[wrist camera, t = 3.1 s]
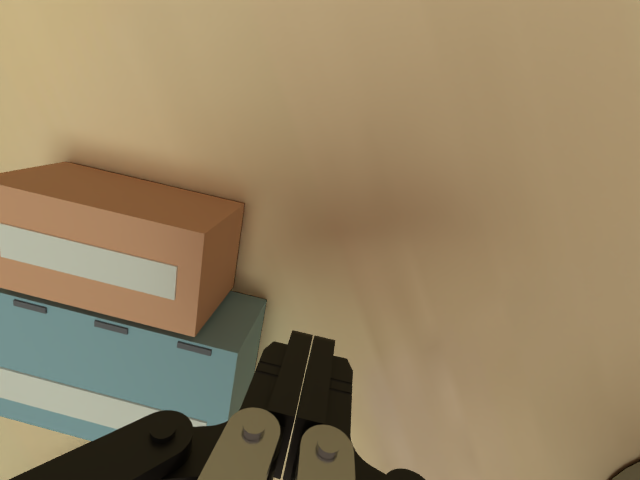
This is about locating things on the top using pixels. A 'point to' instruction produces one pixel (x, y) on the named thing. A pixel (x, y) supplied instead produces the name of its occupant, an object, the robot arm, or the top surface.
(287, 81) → the top surface
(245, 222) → the top surface
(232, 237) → the orange labelled box
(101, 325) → the blue labelled box
